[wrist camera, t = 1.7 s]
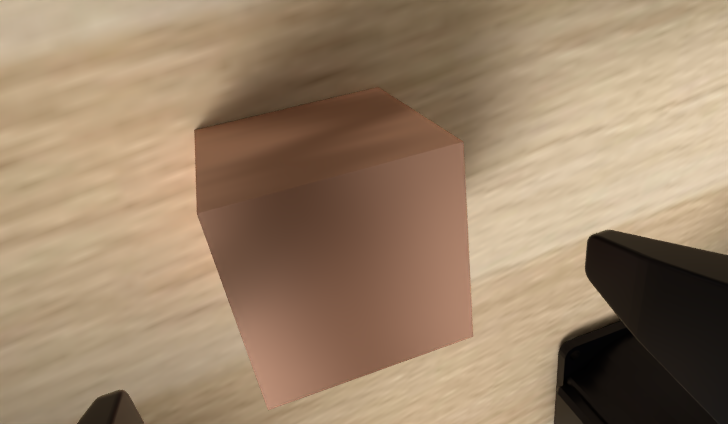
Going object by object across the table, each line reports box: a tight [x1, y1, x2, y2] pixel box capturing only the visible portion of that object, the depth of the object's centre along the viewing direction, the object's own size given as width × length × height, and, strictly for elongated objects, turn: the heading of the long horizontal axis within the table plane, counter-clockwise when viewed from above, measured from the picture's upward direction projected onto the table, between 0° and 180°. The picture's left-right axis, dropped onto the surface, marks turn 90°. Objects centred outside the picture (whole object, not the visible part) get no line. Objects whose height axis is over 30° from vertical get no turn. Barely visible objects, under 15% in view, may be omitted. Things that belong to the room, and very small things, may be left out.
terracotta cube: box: [194, 87, 473, 410], centre depth 12 cm, size 5×5×5 cm
